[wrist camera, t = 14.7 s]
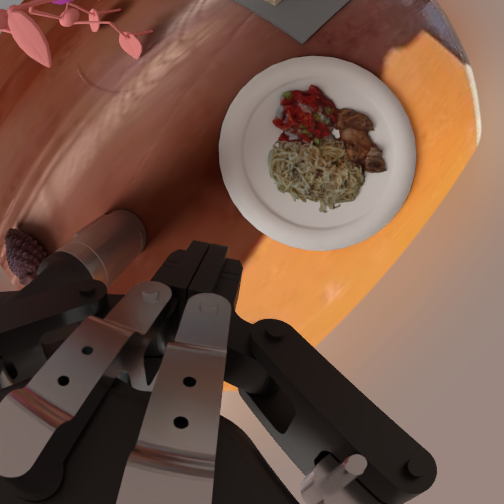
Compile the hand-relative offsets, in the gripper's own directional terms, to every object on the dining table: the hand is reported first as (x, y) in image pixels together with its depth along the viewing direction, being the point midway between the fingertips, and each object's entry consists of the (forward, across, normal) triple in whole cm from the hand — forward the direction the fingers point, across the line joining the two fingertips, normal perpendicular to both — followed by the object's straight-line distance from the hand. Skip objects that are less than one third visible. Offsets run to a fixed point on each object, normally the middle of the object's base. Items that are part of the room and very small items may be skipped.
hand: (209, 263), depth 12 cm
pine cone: (+33, +48, +24) cm, 63 cm away
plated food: (+34, -9, -3) cm, 35 cm away
